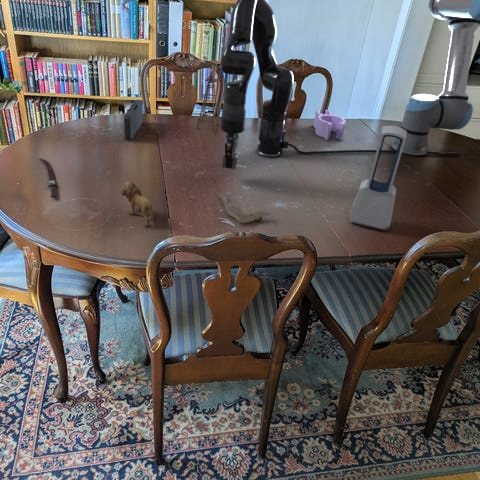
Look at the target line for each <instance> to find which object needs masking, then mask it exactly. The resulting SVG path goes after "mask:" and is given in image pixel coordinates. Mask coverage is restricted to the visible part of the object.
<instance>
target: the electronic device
mask: <svg viewBox="0 0 480 480" xmlns="http://www.w3.org/2000/svg"><path fill="white" fill-rule="evenodd" d="M406 134H407V131H406V130H404V129H402V128H401V126H400V127H399V126H396V125H384V126H382V129H381V133H380V136H379V140H378V144H377V148H376V150H377V151H376V152H375V155H374V159H373V162H372V166H371V169H370V170H371V171H370V174H369V178H367V179H365V180H362V181H361V183H360V186H359V188H358V191H357V194H356V196H355V198H354V201H353V204H352V206H351V209H350V212H349V215H348V220H349V221H350V223H351V224H355V225H359V226H363V227H368V228H372V229H375V230H379V231H383V232H384V231H385V232H386V231H387V230H388V229H390V227H391V223H392V217H393V212H394V208H395V207H394V206H395V201H396V195H397V194H396V193H397V188H396V187H395V185H394V180H395V176H396V173H397V170H398V167H399V164H400V159H401V157H402V150H403V147H404V143H405V140H406ZM387 137H389V138H398V139H400V141H399V144H398V148H397V151H396V153H395V154H394V159H393V162H392V165H391V169H390V172H389V174H388V175H389V176H388V179H387V182H381V181H377V180H375V176H376V171H377V167H378V164H379V161H380V157H381V153H382V152H381V150H383V147H384V142H385V138H387ZM379 150H380V151H379Z"/></svg>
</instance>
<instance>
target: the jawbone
mask: <svg viewBox="0 0 480 480" xmlns="http://www.w3.org/2000/svg"><path fill="white" fill-rule="evenodd" d="M218 197H219V198H220V199H221V200H222V203H223V205H224V208H225V211H226V214H228V215H229V216H230V217H232V218H233V219H234V220H237V222H238V223H240V224H243V225H244V224H249V223H251V222H254V221H256V220H257V221H259V222H262V221H263V220H264V219H263V218H264V216H267V217H268V216H270V215H271V214H270V213H269V212H267V211H261V210H260V211H255V212H253V213H243V212H242V211H241V210H239V209H238V208H237V207H236V206H235V205H234V203H233V202H229V201H228V199H227V197H226V196H225V194H224V193H218Z"/></svg>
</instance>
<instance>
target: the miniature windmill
mask: <svg viewBox="0 0 480 480" xmlns="http://www.w3.org/2000/svg"><path fill="white" fill-rule="evenodd" d="M211 63H212V64H210V65H209V63H205V62H201V65H200V66H201V69H210V74H209V76H208V77H207V78H206V79H205V82H207V84H206V90H205V91H204V92H205V93H204V96H203V101H202V102H201V103H202V105H201V108H200V112H199V117H198V118H197V124H196V129H198V128H199V126H200V122H201V123H202V124H203V123H204V122H207V123H213V132H216V122H217V125H218V126H220V116H219V111H218V102H217V95H216V85H215V83H216V82H219V79H217V78H215V77H216V75H217V74H216V73H217V69H218V67H217V66H218V61H217V56H216V55H215V56H214V59H212V62H211ZM210 89H211V94H210V93H209V90H210ZM208 99H210V100H211V101H212V103H211V104H210V103H207V101H208ZM207 106H212V108H210V107H207ZM206 110H211V111H212V115H210V114H205V112H206ZM215 111H216V115H215ZM205 117H210V118H212V120H206V119H205ZM204 119H205V120H204Z"/></svg>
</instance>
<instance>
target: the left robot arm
mask: <svg viewBox="0 0 480 480" xmlns="http://www.w3.org/2000/svg"><path fill="white" fill-rule="evenodd" d="M277 37H278V27H277V21H276V18H275V14H274V12H273V8H272V7H271V5H270V4H269V3H268V2H267V1H266V0H236V2H235V4H234V6H233V8H232V10H231V14H230V20H229V31H228V37H227V41H226V44H225V47H224V49H223V51H222V54H221V57H220V62H219V65H220V66H219V67H220V70H221V72H222V73H223V74H225V75H233V76H242V77H241V78H240V79H238V80H233V81H228V82H226V83H225V84H224V93H223V103H222V108H221V109H222V110H221V126H220V129H221V131H223V132H224V133H226V136H225V138H224V141H225V143H224V153H225V158H226V165H225V167H226V168H225V169H229V168H232V162H233V157H234V156H233V154H234V153H236V151H237V148H238V140H239V138H240V137H239V134H241V133H244V131H245V123H246V115H247V113H246V112H247V94H248V87H249V84H250V81H251V78H252V75H253V73H254V70H255V67H256V59H257V65H258V71H259V77H260V82H261V84H262V86H263V87H264V89H266V90H267V91H270V92H271V93H272V95H271V98H270V99H266V100H263V102H262V105H261V114H260V123H259V131H258V137H257V138H256V143H257V148H256V153H257V154H258V155H259V156H262V157H264V158H265V157H266V158H277V157H279V156H281V155H282V154H283V150H286V149H288V148H289V147H290V148H293V149H294V150H295V151H296V153H298V154H301V155H314V154H315V155H316V154H317V155H318V154H322V155H323V154H344V153H346V154H348V153H349V154H350V153H376V151H377V149H344V150H343V149H341V150H313V151H302V150H300V149H298V147H297V146H296V145H294V144H293V143H290V142H289V141H288V140H286V139H285V136H286V130H284V128H285V122H286V115H287V109H288V107H289V105H290V102H291V96H292V92H293V88H294V79H295V78H294V74H293V73H294V72H293V71H291V70H290V69H289V68H286V67H284V66H281V65H279V64H278V62H277V59H276V56H275V51H274V49H275V43H276V40H277ZM250 43H252V45H253V49H254V53H255V54H254V53H253V52H252V51H249V50H238V49H237V48H238V47H243V46H247V45H250ZM255 56H256V57H255ZM379 151H380V149H379ZM396 151H397V150H393V149H382V150H381V153H395V154H396ZM446 152H447V151H446ZM446 152H444V151H427V153H426V155H440V156H441V155H442V156H443V155H445V156H446V155H447V156H460V155H461V153H460V154H453V153H454V152H448V153H446ZM228 153H230V154H228Z"/></svg>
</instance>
